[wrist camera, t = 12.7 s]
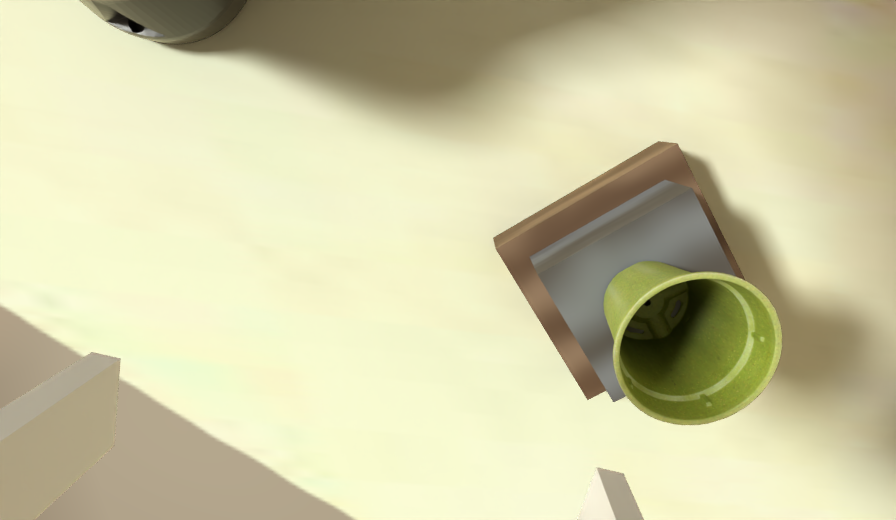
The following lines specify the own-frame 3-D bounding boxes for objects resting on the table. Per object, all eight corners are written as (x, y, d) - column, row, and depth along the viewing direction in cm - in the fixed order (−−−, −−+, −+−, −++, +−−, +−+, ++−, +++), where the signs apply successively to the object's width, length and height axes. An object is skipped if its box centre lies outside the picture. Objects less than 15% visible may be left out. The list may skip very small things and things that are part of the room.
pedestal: (493, 237, 46) (499, 265, 37) (658, 141, 43) (707, 146, 34) (578, 377, 49) (602, 433, 40) (736, 296, 46) (798, 336, 38)
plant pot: (731, 252, 36) (810, 292, 28) (686, 370, 39) (747, 440, 30) (601, 224, 36) (642, 256, 28) (566, 345, 38) (593, 408, 30)
